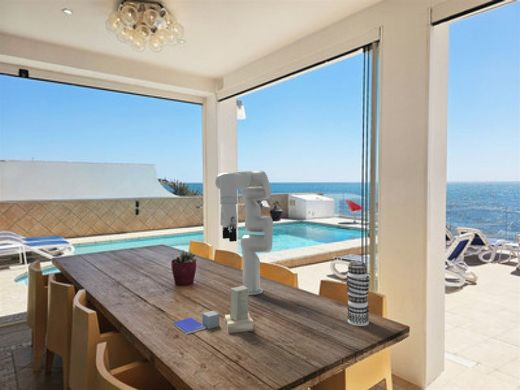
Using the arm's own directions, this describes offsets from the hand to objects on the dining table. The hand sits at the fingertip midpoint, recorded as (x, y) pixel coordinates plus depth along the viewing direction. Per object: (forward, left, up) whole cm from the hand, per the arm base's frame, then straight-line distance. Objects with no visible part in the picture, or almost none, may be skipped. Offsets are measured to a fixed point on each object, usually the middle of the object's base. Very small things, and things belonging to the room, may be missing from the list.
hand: (229, 239), depth 140 cm
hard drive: (+3, -18, -35) cm, 39 cm away
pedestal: (+11, 0, -34) cm, 36 cm away
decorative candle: (+28, +47, -34) cm, 64 cm away
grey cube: (+6, -10, -34) cm, 36 cm away
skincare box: (+12, 0, -30) cm, 33 cm away
